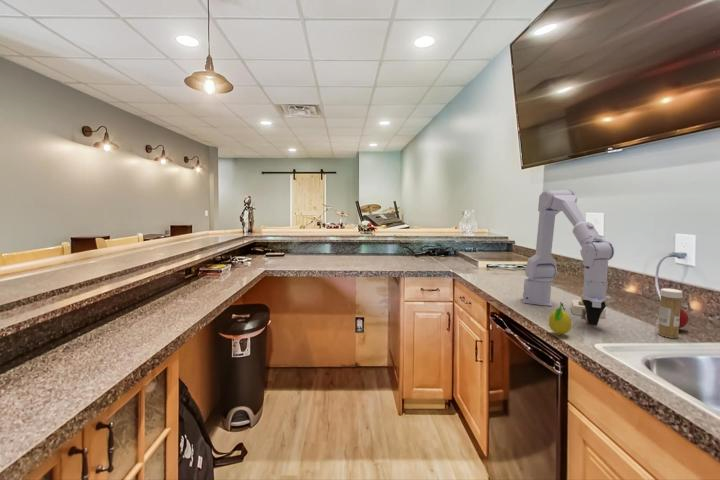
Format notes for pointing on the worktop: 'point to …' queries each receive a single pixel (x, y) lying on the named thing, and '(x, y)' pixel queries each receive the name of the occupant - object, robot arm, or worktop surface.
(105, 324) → the worktop surface
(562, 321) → the lemon
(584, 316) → the block
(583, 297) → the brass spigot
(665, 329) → the sprinkles bottle
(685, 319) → the onion
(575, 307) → the dock
